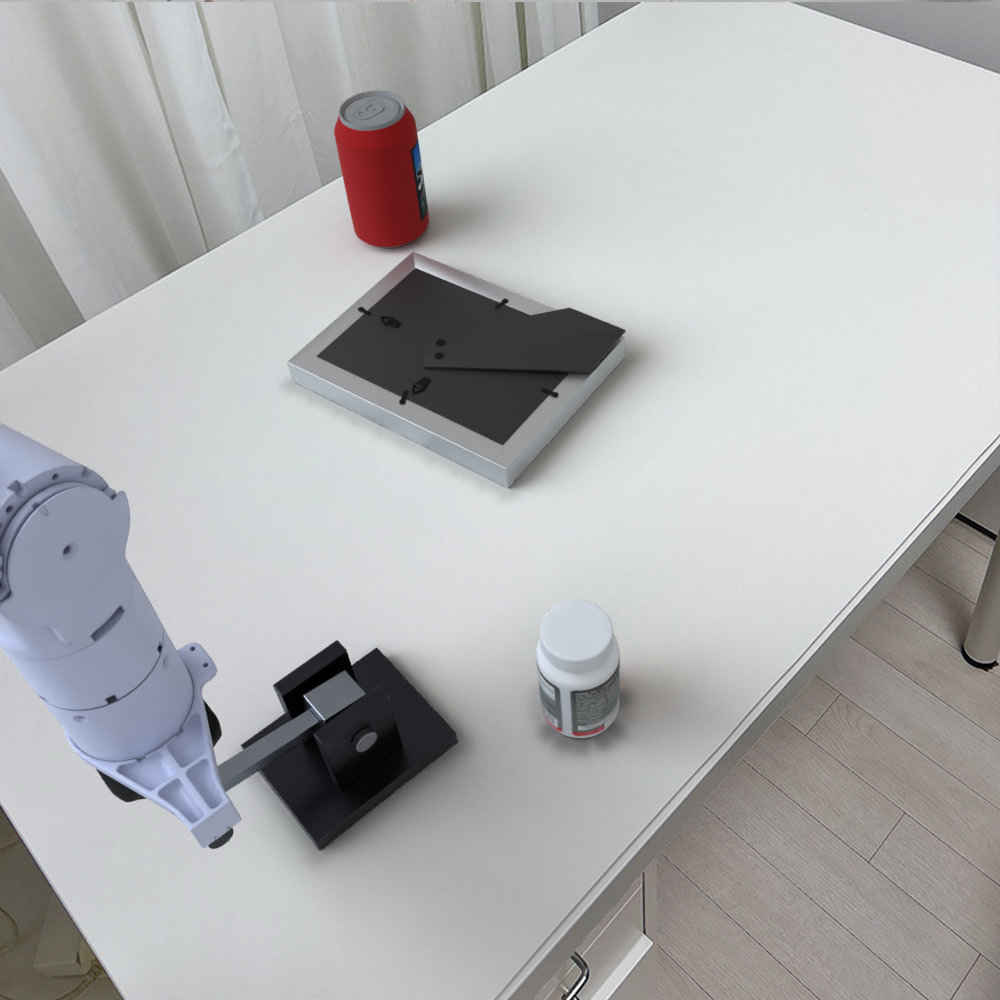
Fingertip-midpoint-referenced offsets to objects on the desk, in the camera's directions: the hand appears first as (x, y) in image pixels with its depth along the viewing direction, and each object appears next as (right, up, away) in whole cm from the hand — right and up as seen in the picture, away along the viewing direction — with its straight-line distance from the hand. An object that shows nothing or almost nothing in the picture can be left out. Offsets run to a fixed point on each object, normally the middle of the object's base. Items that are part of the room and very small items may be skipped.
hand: (188, 791), depth 57 cm
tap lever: (+4, +1, +4) cm, 5 cm away
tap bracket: (+7, 0, +9) cm, 11 cm away
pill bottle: (+21, +3, +10) cm, 23 cm away
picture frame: (+13, +25, +29) cm, 41 cm away
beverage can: (+7, +39, +41) cm, 57 cm away
